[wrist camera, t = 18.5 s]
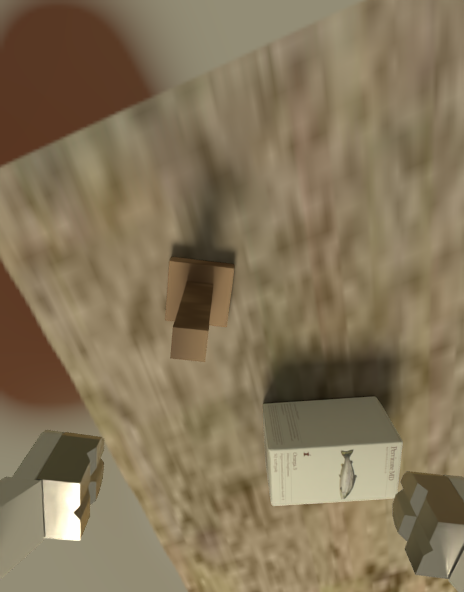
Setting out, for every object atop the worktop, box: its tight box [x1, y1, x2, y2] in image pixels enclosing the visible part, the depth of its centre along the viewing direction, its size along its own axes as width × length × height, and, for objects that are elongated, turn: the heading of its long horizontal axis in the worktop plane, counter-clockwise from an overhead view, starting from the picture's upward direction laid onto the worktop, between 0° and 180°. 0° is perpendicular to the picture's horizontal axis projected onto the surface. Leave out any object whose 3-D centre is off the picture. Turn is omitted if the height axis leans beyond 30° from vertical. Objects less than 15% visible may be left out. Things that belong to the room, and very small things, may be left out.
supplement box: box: [263, 396, 403, 506], centre depth 42 cm, size 7×7×13 cm
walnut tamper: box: [165, 257, 234, 362], centre depth 34 cm, size 6×6×12 cm
